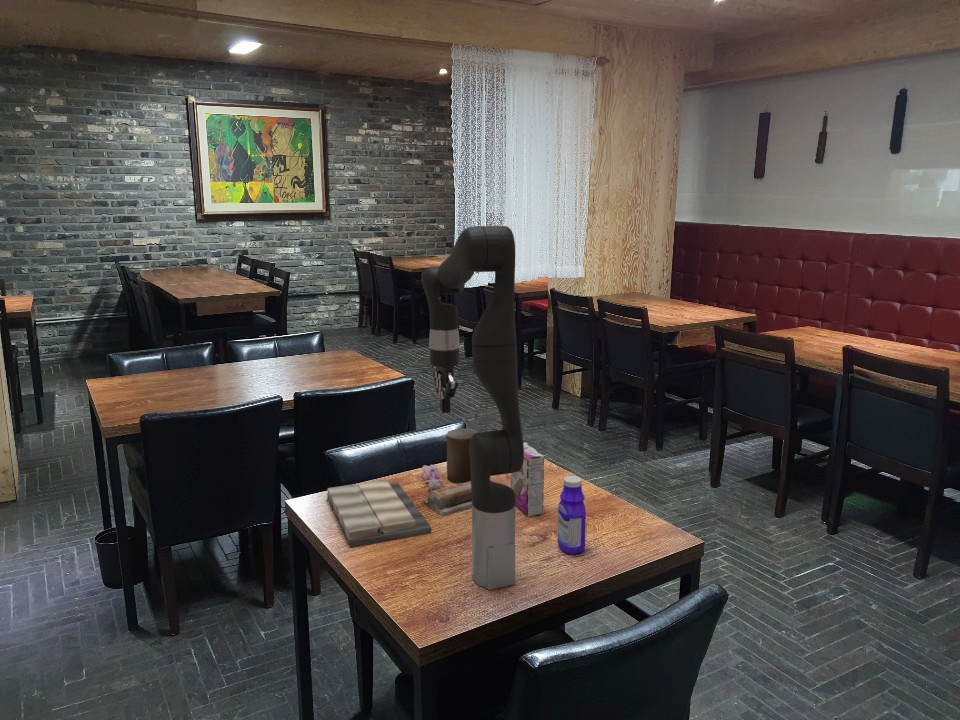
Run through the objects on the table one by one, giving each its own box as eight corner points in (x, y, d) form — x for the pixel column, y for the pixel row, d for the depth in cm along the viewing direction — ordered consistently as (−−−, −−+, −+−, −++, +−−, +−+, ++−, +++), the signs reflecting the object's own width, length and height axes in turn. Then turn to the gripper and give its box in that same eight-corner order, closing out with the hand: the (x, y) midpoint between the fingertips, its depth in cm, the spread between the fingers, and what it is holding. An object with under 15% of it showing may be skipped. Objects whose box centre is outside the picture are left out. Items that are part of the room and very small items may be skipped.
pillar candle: (475, 485, 200) (475, 435, 197) (442, 481, 202) (442, 432, 199) (482, 472, 209) (483, 425, 206) (451, 470, 212) (451, 422, 208)
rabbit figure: (446, 497, 196) (438, 469, 209) (447, 478, 193) (438, 452, 207) (424, 499, 194) (417, 471, 208) (424, 480, 192) (417, 453, 206)
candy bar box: (509, 500, 190) (509, 443, 186) (525, 498, 191) (526, 441, 188) (526, 517, 180) (527, 458, 176) (544, 514, 181) (545, 455, 178)
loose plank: (415, 528, 171) (415, 520, 170) (380, 534, 167) (380, 526, 167) (386, 485, 196) (385, 479, 196) (355, 490, 193) (354, 484, 192)
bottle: (553, 543, 166) (554, 475, 162) (574, 539, 168) (576, 471, 164) (567, 557, 160) (569, 486, 156) (589, 553, 161) (591, 483, 158)
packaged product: (441, 500, 179) (422, 488, 187) (442, 518, 181) (423, 504, 189) (498, 484, 189) (478, 473, 197) (498, 501, 190) (478, 489, 198)
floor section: (431, 532, 172) (430, 519, 171) (350, 547, 164) (349, 534, 163) (397, 487, 199) (397, 476, 198) (327, 498, 191) (326, 486, 190)
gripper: (468, 349, 170) (468, 417, 174) (449, 340, 182) (450, 403, 186) (438, 352, 167) (439, 421, 171) (422, 342, 179) (423, 406, 183)
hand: (445, 412), depth 178 cm, fingers closed
